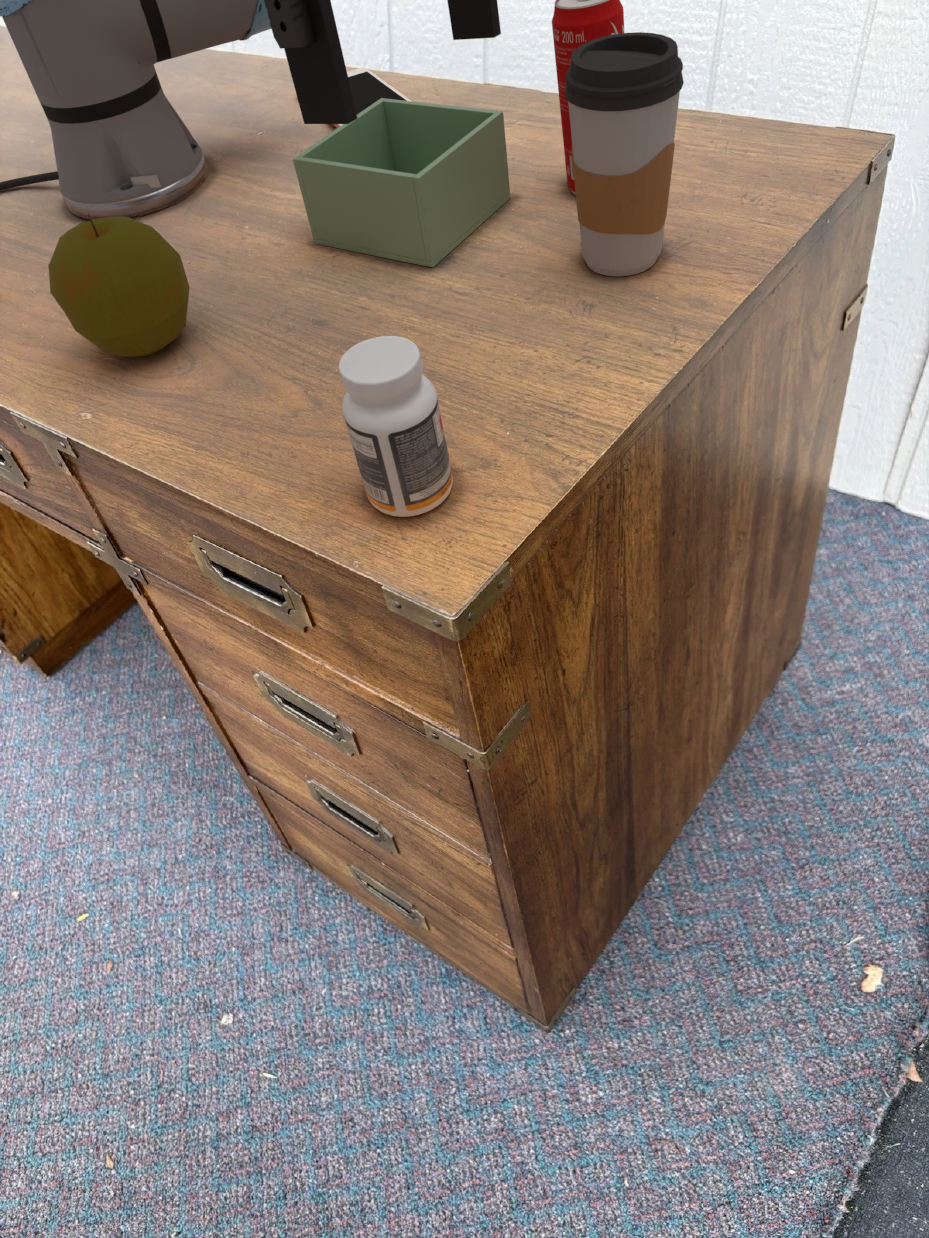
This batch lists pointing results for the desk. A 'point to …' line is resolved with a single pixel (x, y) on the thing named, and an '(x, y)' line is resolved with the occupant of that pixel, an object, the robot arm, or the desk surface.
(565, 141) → the beverage can
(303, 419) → the desk surface
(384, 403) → the pill bottle
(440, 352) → the desk surface
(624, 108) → the coffee cup
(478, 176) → the bin
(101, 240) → the apple
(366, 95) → the cell phone
